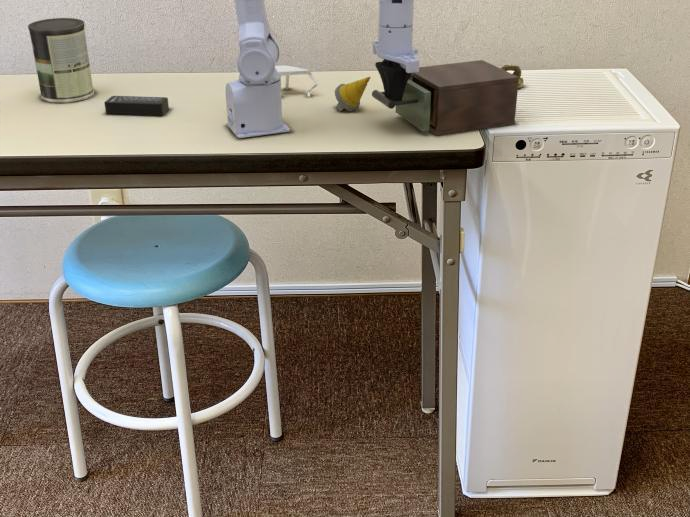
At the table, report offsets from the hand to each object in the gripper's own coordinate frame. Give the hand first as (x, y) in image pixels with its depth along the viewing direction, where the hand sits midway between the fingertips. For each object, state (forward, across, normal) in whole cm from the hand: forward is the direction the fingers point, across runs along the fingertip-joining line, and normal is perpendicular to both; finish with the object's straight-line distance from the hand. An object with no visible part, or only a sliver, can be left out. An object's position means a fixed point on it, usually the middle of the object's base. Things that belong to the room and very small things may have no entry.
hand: (393, 103), depth 145 cm
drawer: (+4, 0, -7) cm, 8 cm away
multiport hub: (+5, +27, +40) cm, 49 cm away
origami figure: (+5, +27, +10) cm, 29 cm away
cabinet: (+5, 0, -13) cm, 14 cm away
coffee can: (+5, +43, +51) cm, 67 cm away
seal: (+5, +17, -29) cm, 34 cm away
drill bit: (+5, +13, +2) cm, 14 cm away
